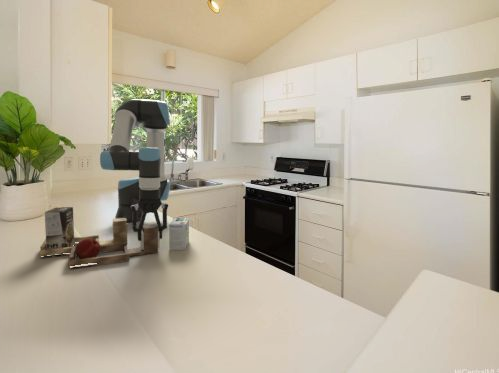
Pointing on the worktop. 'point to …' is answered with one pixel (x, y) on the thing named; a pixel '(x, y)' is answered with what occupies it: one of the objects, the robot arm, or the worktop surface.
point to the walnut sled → (149, 247)
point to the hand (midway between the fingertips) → (150, 247)
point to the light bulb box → (178, 234)
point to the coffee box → (59, 228)
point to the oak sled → (118, 237)
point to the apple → (87, 248)
